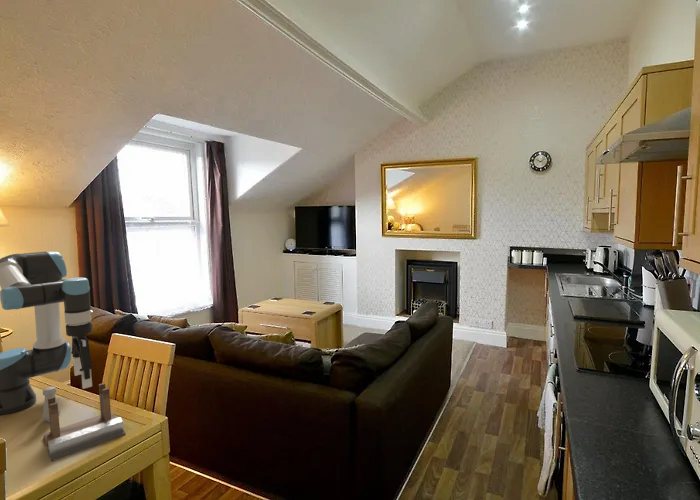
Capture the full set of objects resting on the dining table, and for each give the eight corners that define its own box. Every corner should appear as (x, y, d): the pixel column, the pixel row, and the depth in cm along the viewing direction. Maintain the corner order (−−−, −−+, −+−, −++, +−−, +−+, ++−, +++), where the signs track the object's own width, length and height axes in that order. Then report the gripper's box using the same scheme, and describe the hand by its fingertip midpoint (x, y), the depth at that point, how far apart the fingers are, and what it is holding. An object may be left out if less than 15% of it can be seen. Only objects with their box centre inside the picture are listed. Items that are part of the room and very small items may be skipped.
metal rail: (48, 450, 134) (47, 441, 134) (120, 425, 149) (119, 417, 149) (50, 455, 131) (49, 446, 131) (123, 429, 146) (122, 421, 146)
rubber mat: (47, 448, 136) (47, 447, 136) (118, 424, 151) (118, 423, 151) (51, 461, 129) (51, 459, 129) (125, 434, 145) (125, 432, 145)
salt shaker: (50, 424, 151) (48, 392, 150) (38, 422, 152) (35, 390, 151) (64, 416, 157) (62, 385, 155) (52, 414, 158) (50, 384, 156)
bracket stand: (43, 437, 143) (40, 399, 141) (112, 415, 158) (109, 380, 156) (47, 447, 137) (43, 408, 135) (117, 422, 152) (115, 387, 150)
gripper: (100, 328, 129) (104, 389, 132) (83, 312, 147) (87, 366, 149) (72, 333, 124) (77, 397, 126) (59, 316, 141) (63, 372, 144)
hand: (83, 380), depth 138 cm, fingers open, 13 cm apart
